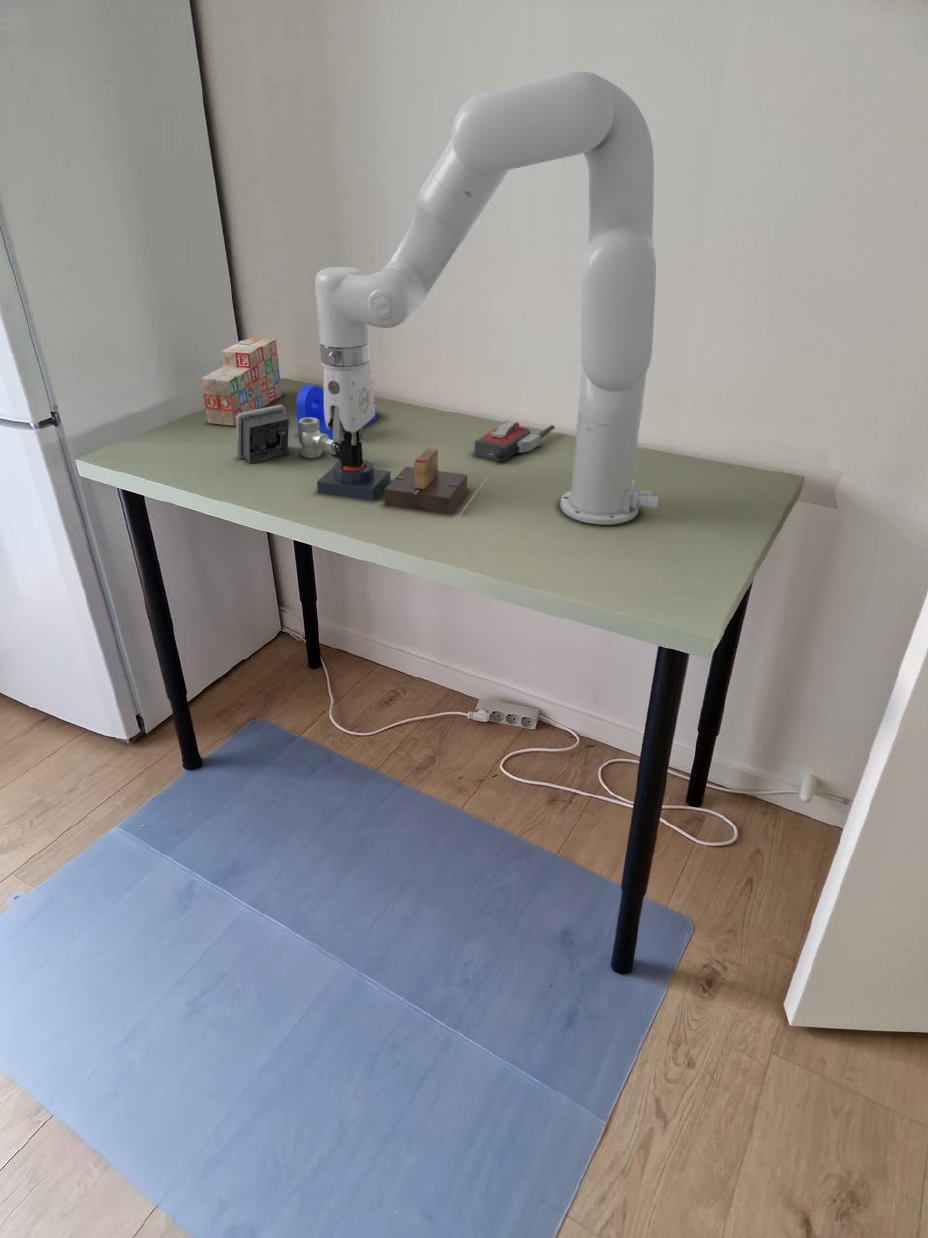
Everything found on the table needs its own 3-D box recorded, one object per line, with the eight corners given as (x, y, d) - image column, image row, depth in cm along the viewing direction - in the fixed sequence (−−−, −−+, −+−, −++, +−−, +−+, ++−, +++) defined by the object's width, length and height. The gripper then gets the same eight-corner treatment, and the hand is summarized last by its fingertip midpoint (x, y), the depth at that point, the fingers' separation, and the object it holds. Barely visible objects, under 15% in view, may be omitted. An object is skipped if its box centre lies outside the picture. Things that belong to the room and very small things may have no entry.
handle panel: (467, 490, 138) (467, 472, 136) (448, 516, 130) (448, 498, 128) (407, 481, 141) (406, 464, 139) (384, 506, 132) (383, 488, 130)
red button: (368, 472, 138) (367, 462, 137) (359, 480, 135) (358, 470, 134) (348, 469, 139) (347, 460, 138) (339, 477, 136) (338, 467, 135)
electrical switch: (282, 447, 154) (279, 400, 148) (295, 457, 151) (292, 410, 145) (236, 458, 149) (230, 410, 143) (248, 469, 146) (243, 421, 140)
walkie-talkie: (510, 467, 147) (557, 434, 161) (511, 444, 144) (559, 412, 159) (468, 457, 150) (518, 426, 165) (468, 434, 148) (519, 404, 162)
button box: (390, 482, 140) (389, 461, 138) (373, 501, 134) (371, 478, 132) (337, 475, 143) (336, 454, 141) (317, 493, 136) (315, 471, 134)
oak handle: (427, 473, 136) (427, 446, 134) (438, 474, 136) (437, 447, 133) (414, 488, 131) (413, 460, 128) (425, 489, 131) (424, 461, 128)
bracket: (333, 442, 156) (330, 396, 151) (298, 435, 159) (294, 389, 154) (383, 415, 170) (381, 372, 165) (350, 408, 173) (347, 366, 168)
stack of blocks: (235, 427, 163) (226, 365, 156) (207, 423, 164) (197, 362, 157) (282, 395, 180) (276, 338, 173) (257, 392, 181) (249, 335, 175)
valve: (290, 457, 150) (336, 473, 143) (286, 422, 146) (334, 437, 140) (317, 447, 154) (362, 462, 148) (313, 413, 150) (360, 427, 144)
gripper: (347, 369, 119) (354, 485, 129) (385, 344, 131) (389, 452, 141) (301, 364, 121) (312, 479, 131) (342, 340, 133) (349, 447, 143)
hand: (352, 464), depth 136 cm, fingers closed
